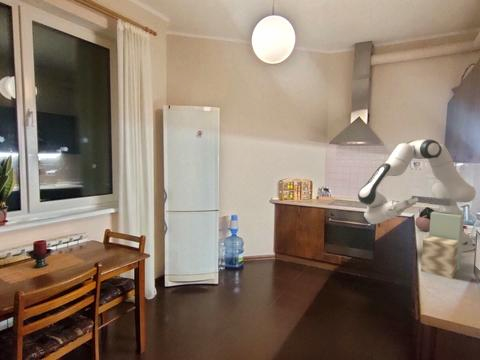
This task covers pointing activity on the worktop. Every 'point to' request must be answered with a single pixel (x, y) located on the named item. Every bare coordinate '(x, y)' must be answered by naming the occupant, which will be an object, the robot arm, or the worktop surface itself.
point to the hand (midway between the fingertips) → (419, 198)
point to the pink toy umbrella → (423, 223)
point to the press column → (448, 228)
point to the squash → (426, 212)
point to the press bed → (439, 256)
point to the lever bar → (434, 200)
